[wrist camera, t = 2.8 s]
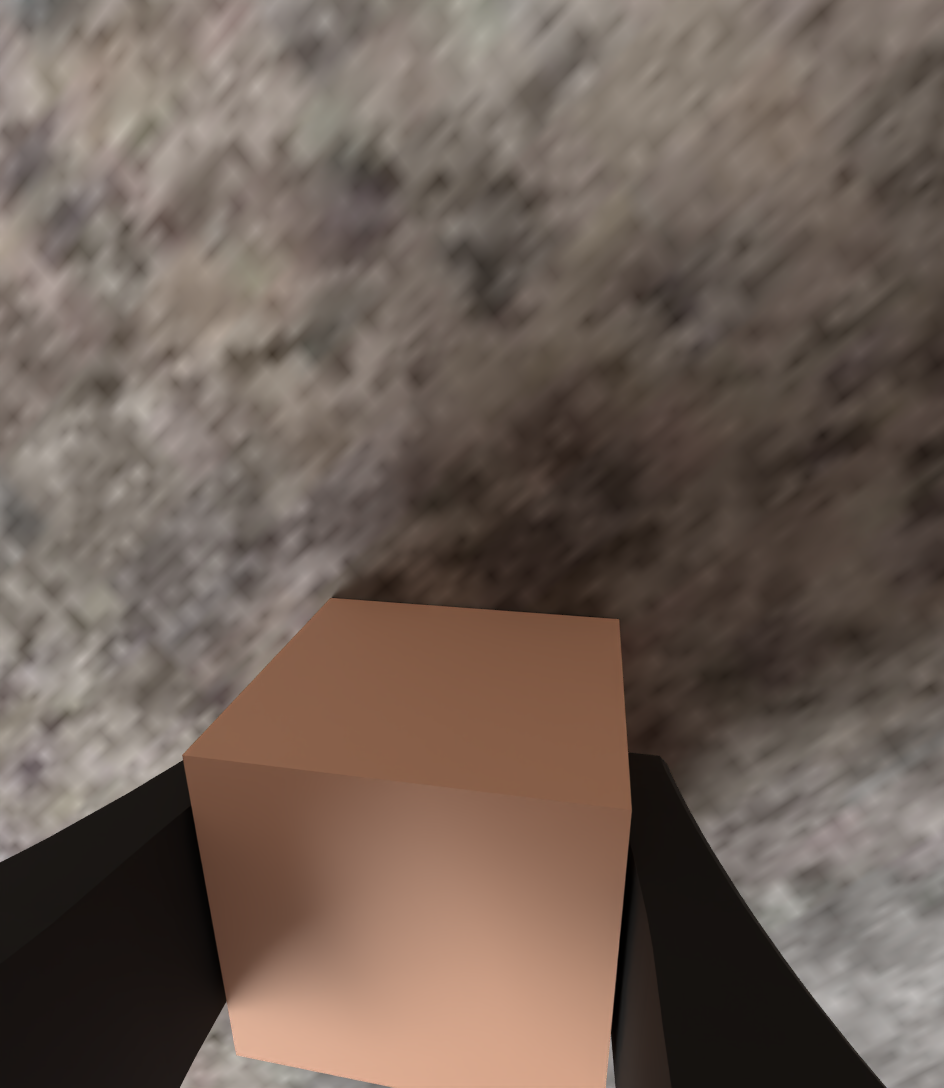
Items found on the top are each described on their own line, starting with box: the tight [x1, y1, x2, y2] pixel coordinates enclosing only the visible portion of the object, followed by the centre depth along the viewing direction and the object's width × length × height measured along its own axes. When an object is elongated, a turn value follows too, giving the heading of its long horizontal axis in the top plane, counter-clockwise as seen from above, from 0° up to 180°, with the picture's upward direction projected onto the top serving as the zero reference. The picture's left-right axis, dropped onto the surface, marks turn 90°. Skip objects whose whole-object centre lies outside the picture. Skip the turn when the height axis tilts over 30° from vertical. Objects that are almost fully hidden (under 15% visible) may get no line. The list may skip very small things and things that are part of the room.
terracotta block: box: [182, 598, 632, 1088], centre depth 9 cm, size 4×4×4 cm
